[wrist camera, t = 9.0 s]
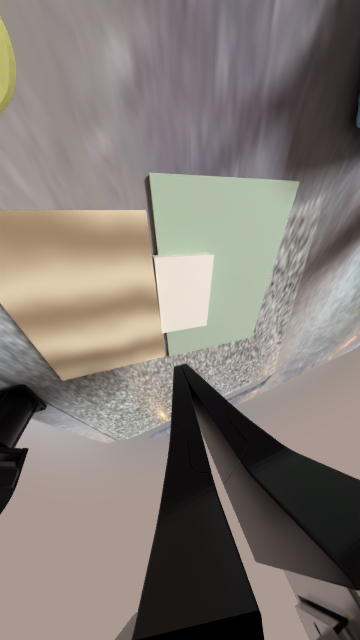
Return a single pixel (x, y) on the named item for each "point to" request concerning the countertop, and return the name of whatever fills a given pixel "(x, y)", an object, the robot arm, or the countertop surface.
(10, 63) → the key
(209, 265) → the white flat block
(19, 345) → the countertop surface
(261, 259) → the mat
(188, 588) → the robot arm
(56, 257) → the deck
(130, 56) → the countertop surface
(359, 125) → the teapot
